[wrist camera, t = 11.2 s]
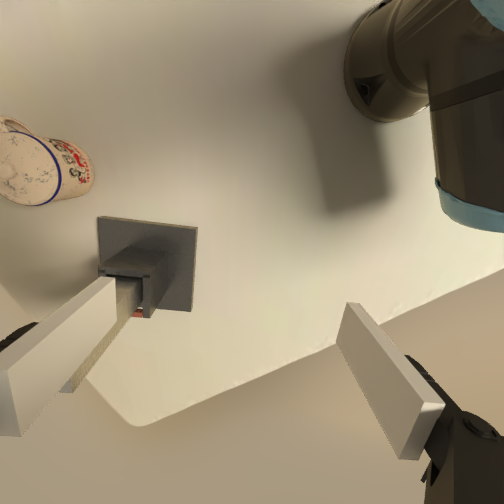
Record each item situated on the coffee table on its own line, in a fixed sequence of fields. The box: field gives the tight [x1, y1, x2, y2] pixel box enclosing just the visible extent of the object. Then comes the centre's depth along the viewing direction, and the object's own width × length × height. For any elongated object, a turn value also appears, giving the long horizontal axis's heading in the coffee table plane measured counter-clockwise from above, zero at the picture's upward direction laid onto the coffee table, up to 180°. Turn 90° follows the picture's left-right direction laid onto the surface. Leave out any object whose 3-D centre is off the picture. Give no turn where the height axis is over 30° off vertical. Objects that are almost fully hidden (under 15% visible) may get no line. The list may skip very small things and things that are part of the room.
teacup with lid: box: [0, 116, 94, 206], centre depth 34 cm, size 12×9×12 cm
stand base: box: [98, 216, 198, 318], centre depth 41 cm, size 16×16×10 cm
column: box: [59, 275, 143, 393], centre depth 30 cm, size 5×4×18 cm
